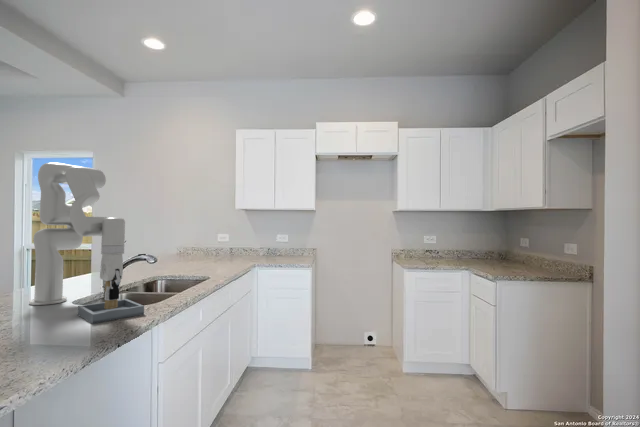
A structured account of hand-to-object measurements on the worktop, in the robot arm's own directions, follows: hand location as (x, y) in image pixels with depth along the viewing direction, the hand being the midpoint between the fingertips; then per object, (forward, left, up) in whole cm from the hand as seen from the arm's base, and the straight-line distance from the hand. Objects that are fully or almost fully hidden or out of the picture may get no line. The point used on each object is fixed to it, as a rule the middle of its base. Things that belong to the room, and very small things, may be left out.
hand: (111, 297), depth 130 cm
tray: (0, 0, -6) cm, 6 cm away
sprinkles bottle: (0, 0, -4) cm, 4 cm away
